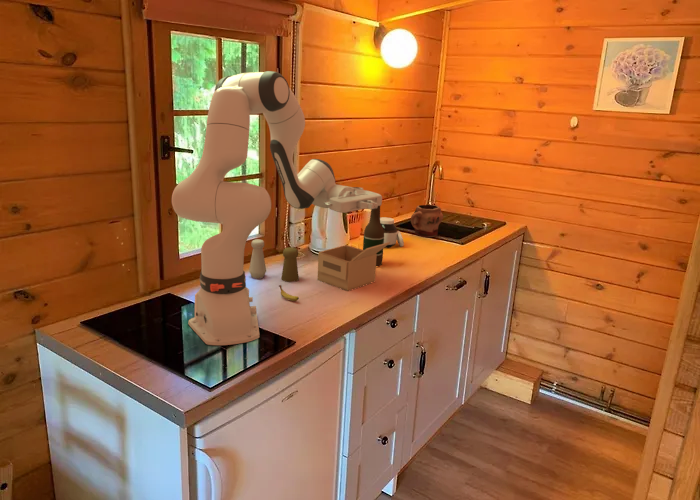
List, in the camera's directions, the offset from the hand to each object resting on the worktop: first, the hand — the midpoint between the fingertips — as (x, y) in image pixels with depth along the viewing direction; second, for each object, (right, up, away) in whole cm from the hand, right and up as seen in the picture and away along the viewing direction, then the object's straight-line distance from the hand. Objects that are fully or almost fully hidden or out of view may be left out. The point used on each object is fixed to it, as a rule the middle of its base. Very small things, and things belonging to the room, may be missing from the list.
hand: (374, 206), depth 175 cm
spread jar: (+9, -12, +60) cm, 62 cm away
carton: (-9, -24, +15) cm, 30 cm away
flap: (-1, -14, +5) cm, 15 cm away
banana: (-27, -30, -4) cm, 40 cm away
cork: (-28, -24, +14) cm, 40 cm away
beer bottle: (0, -19, +34) cm, 39 cm away
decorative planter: (+26, -7, +79) cm, 84 cm away
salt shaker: (-40, -23, +14) cm, 48 cm away
